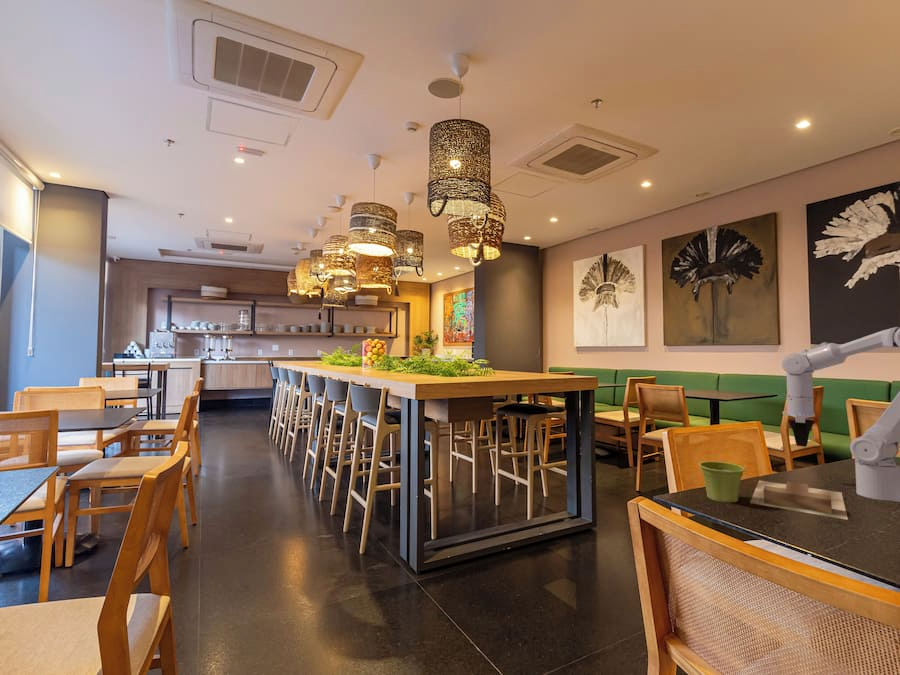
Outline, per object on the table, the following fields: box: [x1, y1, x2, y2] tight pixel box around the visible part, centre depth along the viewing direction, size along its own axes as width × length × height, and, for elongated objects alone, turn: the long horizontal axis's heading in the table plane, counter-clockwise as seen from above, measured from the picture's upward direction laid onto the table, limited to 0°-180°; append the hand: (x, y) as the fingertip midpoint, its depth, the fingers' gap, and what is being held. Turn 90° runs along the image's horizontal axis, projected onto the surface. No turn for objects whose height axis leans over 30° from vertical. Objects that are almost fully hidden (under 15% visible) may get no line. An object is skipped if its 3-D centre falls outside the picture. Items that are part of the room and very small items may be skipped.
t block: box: [764, 481, 832, 514], centre depth 103 cm, size 12×12×3 cm
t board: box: [749, 480, 849, 521], centre depth 106 cm, size 17×24×1 cm
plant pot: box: [698, 461, 746, 503], centre depth 106 cm, size 9×9×9 cm
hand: (801, 445), depth 121 cm, fingers closed
